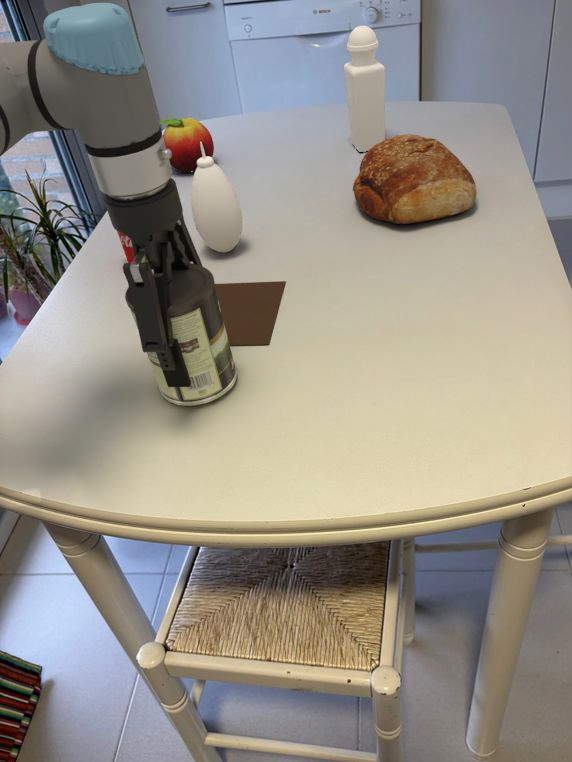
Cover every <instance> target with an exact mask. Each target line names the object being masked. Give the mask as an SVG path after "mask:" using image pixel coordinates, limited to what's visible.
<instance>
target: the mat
mask: <svg viewBox="0 0 572 762" xmlns="http://www.w3.org/2000/svg"><path fill="white" fill-rule="evenodd" d="M286 283H287V282H286V281H285V280H281V281H280V280H279V281H256V282H229V283H228V282H227V283H226V282H225V283H224V282H223V283H215V290H216V294H217V298H218V301H219V305H220V309H221V314H222V318H223V322H224V325H225V329H226V333H227V337H228V341H229V345H230V347H247V346H248V347H249V346H250V347H251V346H253V347H254V346H270V343H271V339H272V336H273V331H274V328H275V324H276V322H277V321H276V320H277V318H278V314H279V313H278V312H279V310H280V305H281V303H282V297H283V294H284V291H285V286H286Z"/></svg>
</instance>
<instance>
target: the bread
mask: <svg viewBox="0 0 572 762" xmlns="http://www.w3.org/2000/svg"><path fill="white" fill-rule="evenodd" d="M352 191H353V194H354V198H355V201H356V203H357V205H358V207H359V208H360V210H361V211H363V212H364V213H366V214H367V215H368V216H370V217H372V218H374V219H377V220H380V221H385V222H390V223H393V224H400V225H403V224H404V225H405V224H406V225H407V224H416V223H421V222H422V223H423V222H426V221H432V220H438V219H441V218H446V217H451V216H454V215H457V214H461V213H463V212H465V211H468V210H471V209H472V208H473V206H474V205H475V201H476V199H477V195H478V192H477V186H476V182H475V179H474V177H473V175H472V173H471V171H469V170H468V168H467V167H466V166H465V165H464V164H463V163H462V161H461V160H460V159H459V158H458V157H457V156H456V154H454V153H453V152H452V151H450V149H448V147H446V145H444V144H443V143H442V142H440V141H439V140H437V139H436V138H432V137H426V136H423V135H418V134H411V133H410V134H409V133H408V134H397V135H395V136H392V137H389V138H385V140H384V141H382V142H380V143H378V144H376V145H374V146H373V147H372V148H371V149H369V151H368V152H365V154H364V156H363V157H362V159H361V161H360V164H359V173H358V174H357V176H356V178H355V179H354V181H353V184H352Z"/></svg>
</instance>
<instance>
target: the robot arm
mask: <svg viewBox="0 0 572 762" xmlns="http://www.w3.org/2000/svg"><path fill="white" fill-rule="evenodd" d="M43 31H44V32H43V33H44V36H45V38H44V39H36V40H34V39H33V40H25V41H24V40H23V41H22V40H19V41H9V42H8V41H7V42H0V157H2V156H3V155H4V154H5V153H6V152H8V151H9V150H10V149H12V148H13V147H14V146H15V145H16V144H18V143H20V141H21V140H23V139H24V138H25V137H26V136H28V135H30V134H33V133H39V132H54V131H69V130H74V129H76V130H78V133H79V135H80V137H81V139H82V143H83V145H84V148H85V151H86V153H87V156H88V159H89V162H90V165H91V168H92V172H93V174H94V177H95V180H96V183H97V186H98V189H99V191H100V192H102V193H103V197H102V199H103V202H104V205H105V208H106V211H107V214H108V216H109V220H110V223H111V225H112V227H113V229H114V230H115V231H116V232H117V231H118V232H120V233H122V234H124V235H126V236H127V237H129V238H130V239H131V243H132V248H133V256H134V258H135V259H134V261H133V262H132V263H128V262H124V263H123V265H122V271H123V274H124V277H125V279H126V282H127V284H128V287H130V292H131V297H132V302H133V307H134V311H135V316H136V321H137V326H138V328H137V331H138V330H139V331H138V334H139V341H140V344H141V348H142V351H143V353H147V352H156V354H157V357H158V360H159V363H160V365H161V368H162V371H163V374H164V377H165V380H166V382H167V385H168V387H190V385H191V380H190V377H189V374H188V371H187V368H186V365H185V361H184V358H183V355H182V352H181V349H180V346H179V343H178V340H177V339H173V331H172V323H171V319H170V317H169V315H168V312H167V310H168V308H169V307H170V297H169V283H171V282H172V271H171V270H187V269H189V265H190V264H195V265H199V266H202V267H204V266H203V263H202V261H201V259H200V256H199V254H198V251H197V249H196V246H195V244H194V241H193V239H192V237H191V234H190V232H189V229H188V227H187V225H186V222H185V217H184V213H183V212H184V209H183V205H182V201H181V198H180V194H179V190H178V186H177V182H176V180H175V179H174V178H172V176H173V170H172V166H171V165H170V161H169V159H171V157H172V152H171V151H170V149H166V147H165V143H164V139H163V131H162V127H161V124H159V121H160V120H159V117H158V113H157V109H156V105H155V102H154V97H153V93H152V89H151V85H150V81H149V77H148V73H147V69H146V65H147V64H146V59H145V56H144V55H143V54H142V51H141V48H140V45H139V42H138V39H137V36H136V32H135V29H134V26H133V23H132V21H131V18H130V16H129V13H127V11H126V10H125V9H124V8H123V7H122V6H120V5H118V4H115V3H112V2H94V3H93V2H92V3H85V4H83V5H75V6H70V7H65V8H62V9H60V10H56V11H54V12H51V13H49V15H47V16H46V17H45V19H44V20H43ZM118 232H117V233H118ZM157 273H163V276H161V277H154V276H153V275H154V274H157ZM137 326H136V327H137Z"/></svg>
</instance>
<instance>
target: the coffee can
mask: <svg viewBox="0 0 572 762" xmlns="http://www.w3.org/2000/svg"><path fill="white" fill-rule="evenodd" d="M202 266H203V265H202ZM202 266H199V265H195V264H190V265H189V269H187V270H171V271H172V282H171V283H169V297H170V307H169V308H168V310H167V312H168V315H169V317H170V319H171V323H172V331H173V339H177V340H178V343H179V346H180V349H181V352H182V355H183V358H184V361H185V365H186V368H187V371H188V374H189V377H190V380H191V385H190V387H168V385H167V382H166V380H165V377H164V374H163V371H162V368H161V365H160V363H159V360H158V357H157V354H156V352H146V355H147V357H148V360H149V363H150V366H151V369H152V371H153V373H154V376H155V379H156V382H157V384H158V388H159V393H160V394H161V396H162V398H164V399H165V400H166V401H167V402H169V403H171V404H175V405H178V406H184V407H194V406H200V405H204V404H208V403H210V402H213V401H215V400H217V399H219V398H220V397H223V396H224V395H225V394H226V393H227V392H229V391H230V390H231V389H232V388H233V386H234V384H235V383H236V380H237V377H238V370H237V367H236V364H235V360H234V357H233V353H232V349H231V346H230V345H229V341H228V337H227V333H226V329H225V325H224V322H223V318H222V314H221V309H220V305H219V301H218V298H217V294H216V290H215V284H216V282H215V277H214V274H213V272H211V271H210V269H208V268H206V267H204V266H203V267H202ZM153 276H154V277H161V276H163V273H157V274H154V275H153ZM124 299H125V302H126V304H127V306H128V308H129V309H130V312H131V315H132V317H133V319H134V323H135V327H136V328H137V331H138V332H139V330H138V326H137V321H136V316H135V311H134V307H133V302H132V297H131V292H130V287H129V286H128V287H127V289H126V290H125V294H124Z"/></svg>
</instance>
